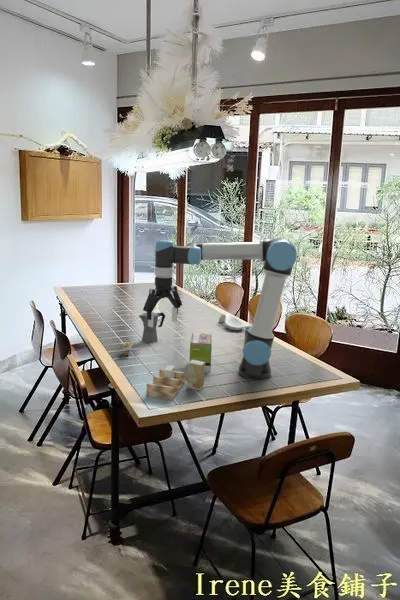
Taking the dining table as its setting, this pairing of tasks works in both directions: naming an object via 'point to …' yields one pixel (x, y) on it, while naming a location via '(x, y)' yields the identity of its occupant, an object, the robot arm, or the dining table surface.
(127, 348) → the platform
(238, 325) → the spoon rest
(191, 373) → the skincare box
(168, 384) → the oak rack
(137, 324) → the dining table surface
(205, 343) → the tea box
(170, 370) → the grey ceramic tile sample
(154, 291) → the robot arm
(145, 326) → the coffeepot
